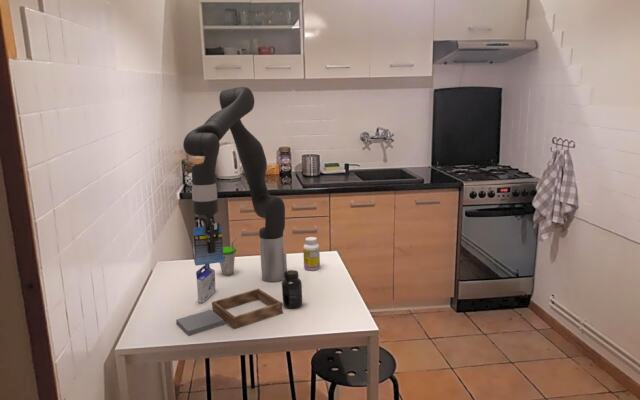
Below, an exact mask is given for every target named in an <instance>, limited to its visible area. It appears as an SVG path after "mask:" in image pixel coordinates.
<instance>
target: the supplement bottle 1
mask: <svg viewBox="0 0 640 400" xmlns="http://www.w3.org/2000/svg"><path fill="white" fill-rule="evenodd" d="M281 281H282V282H281V290H282V291H281V295H282V307H284V308H285V309H290V310H292V309H297V308H300V307H302V306H303V283H302V280H301V279H300V278H299V271H298V270H295V269H290V270H287V271H286V272H284V279H283V280H281Z"/></svg>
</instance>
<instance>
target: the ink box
mask: <svg viewBox="0 0 640 400" xmlns="http://www.w3.org/2000/svg"><path fill="white" fill-rule="evenodd" d="M195 276H196V287H197V290H196V291H197V302H198V303H199V304H204V303H205V302H206V300H208V299H209V298H210V297H211V296H212V295H213V294H214V293H215V292H216V270H215V269H213V268H211V266H210V264H204V265H202V267H200V268H199V269H197V270H196V272H195Z"/></svg>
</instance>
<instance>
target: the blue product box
mask: <svg viewBox="0 0 640 400" xmlns="http://www.w3.org/2000/svg"><path fill="white" fill-rule="evenodd" d="M192 230H193V233H192V235H193V236H192V248H193V251H192V252H193V260H194V261H193V262H194V265H195V267H197V266H204V265H205V264H209V265H210V264H211V265H212V264H217V263H219V264H220V263H221V262H224V255H223V247H224V243H223V232H222V230H223V229H222V224H219V239H218V240H216V241H215V253H211V254H210V253H208V244H207V242H208V241H207V237H206V235H205V234H204V232H203V230H204V227H196V226H195V227H192ZM208 232H210V231H208ZM215 236H216V234H215ZM209 237H210V234H209Z"/></svg>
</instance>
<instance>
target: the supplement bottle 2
mask: <svg viewBox="0 0 640 400" xmlns="http://www.w3.org/2000/svg"><path fill="white" fill-rule="evenodd" d="M317 241H318V238H317V237H315V236H309V237H305V244H304V245H303V247H302V248H303V250H302V251H303V268H304V270H306V271H316V270H319V269H320V267H321V261H320V260H321V259H320V258H321V257H320V244H318V243H317Z"/></svg>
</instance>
